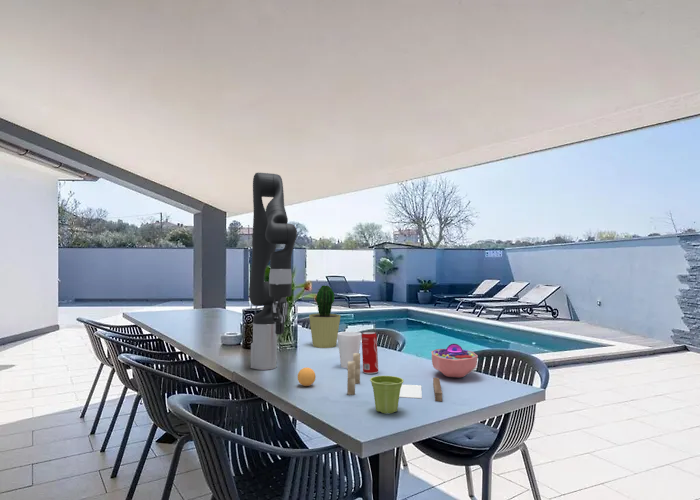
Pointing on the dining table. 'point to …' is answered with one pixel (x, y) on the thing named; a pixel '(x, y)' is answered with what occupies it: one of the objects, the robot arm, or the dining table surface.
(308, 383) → the ball
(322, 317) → the potted cactus
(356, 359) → the post
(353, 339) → the foam cup
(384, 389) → the plant pot
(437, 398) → the wall
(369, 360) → the beverage can
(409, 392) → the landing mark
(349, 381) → the post
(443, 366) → the cell model
